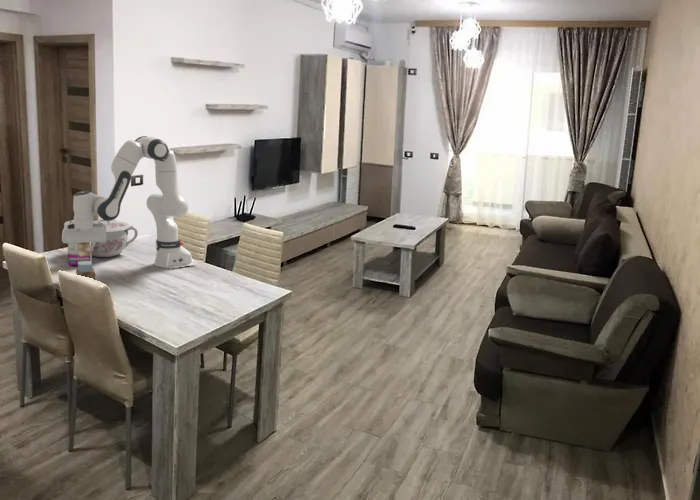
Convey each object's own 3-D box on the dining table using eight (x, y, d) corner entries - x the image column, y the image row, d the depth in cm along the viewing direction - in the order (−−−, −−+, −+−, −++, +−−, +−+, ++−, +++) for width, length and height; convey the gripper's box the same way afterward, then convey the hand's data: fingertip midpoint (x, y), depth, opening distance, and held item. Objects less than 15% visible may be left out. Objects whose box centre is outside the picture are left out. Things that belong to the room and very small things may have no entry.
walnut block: (93, 275, 313) (93, 267, 312) (95, 280, 307) (95, 272, 306) (76, 276, 310) (76, 268, 309) (77, 281, 303) (77, 273, 302)
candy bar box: (92, 263, 331) (91, 234, 326) (90, 266, 326) (89, 236, 322) (69, 263, 328) (68, 234, 323) (68, 266, 323) (66, 236, 319)
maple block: (89, 253, 308) (89, 241, 306) (90, 255, 304) (90, 244, 302) (78, 253, 305) (78, 242, 304) (79, 256, 301) (79, 244, 300)
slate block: (90, 268, 311) (90, 260, 310) (92, 271, 306) (92, 264, 305) (78, 269, 308) (77, 261, 307) (79, 272, 303) (79, 265, 302)
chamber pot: (67, 256, 339) (66, 220, 334) (101, 245, 365) (100, 211, 359) (110, 264, 332) (109, 227, 327) (141, 252, 357) (140, 218, 352)
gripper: (105, 221, 308) (106, 248, 311) (60, 222, 299) (62, 250, 302) (107, 224, 303) (107, 251, 306) (61, 225, 293) (62, 253, 297)
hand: (84, 250), depth 304 cm, fingers closed on maple block, 5 cm apart
